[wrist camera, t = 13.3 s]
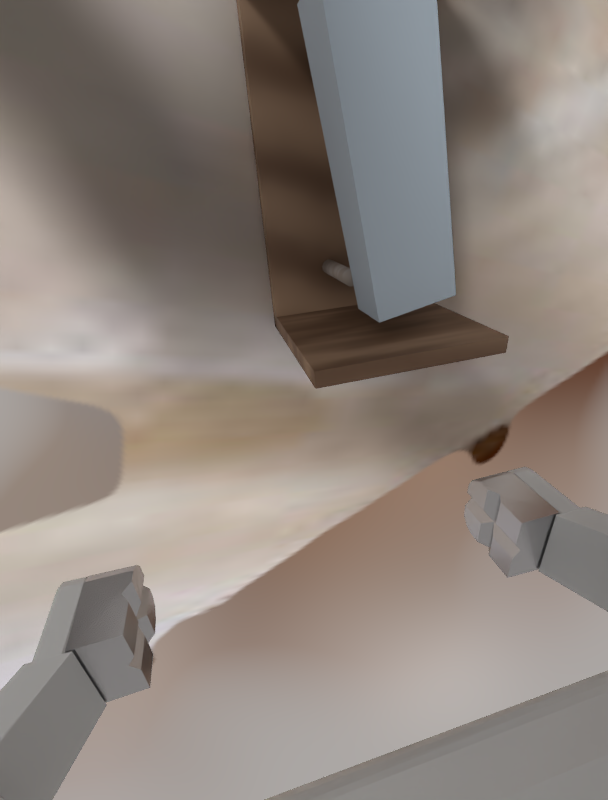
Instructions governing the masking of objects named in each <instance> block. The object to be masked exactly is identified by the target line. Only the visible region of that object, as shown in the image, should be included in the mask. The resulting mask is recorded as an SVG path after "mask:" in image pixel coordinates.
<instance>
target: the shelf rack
mask: <svg viewBox="0 0 608 800" xmlns="http://www.w3.org/2000/svg"><path fill="white" fill-rule="evenodd" d="M236 1H237V9H238V18H239V26H240V35H241V43H242V51H243V60H244V68H245V76H246V85H247V93H248V102H249V110H250V118H251V127H252V135H253V143H254V152H255V160H256V169H257V177H258V185H259V194H260V202H261V210H262V219H263V227H264V236H265V244H266V252H267V261H268V269H269V277H270V286H271V294H272V303H273V311H274V319H275V326H276V328H277V329H278V331H279V333H280V334H281V336H282V337H283V339H284V340H285V342H286V343H287V345H288V347H289V348H290V350H291V351H292V353H293V354H294V356H295V357H296V359H297V360H298V362H299V364H300V365H301V367H302V368H303V370H304V371H305V373H306V374H307V376H308V378H309V379H310V381H311V382H312V384H313V385H314V387H315V388H322V387H327V386H332V385H337V384H343V383H348V382H353V381H358V380H364V379H369V378H374V377H379V376H385V375H390V374H395V373H400V372H406V371H411V370H416V369H422V368H427V367H432V366H437V365H443V364H448V363H453V362H458V361H464V360H469V359H474V358H479V357H485V356H490V355H495V354H500V353H506V349H507V343H508V338H509V336H507V335H505V334H502V333H500V332H498V331H496V330H493V329H491V328H489V327H487V326H484V325H482V324H480V323H478V322H475V321H473V320H471V319H469V318H466V317H464V316H462V315H460V314H457V313H455V312H453V311H450V310H448V309H446V308H444V307H441V306H439V305H437V304H435V303H433V304H430V305H427V306H424V307H421V308H419V309H416V310H413V311H410V312H408V313H405V314H402V315H399V316H397V317H394V318H391V319H388V320H385V321H383V322H380V323H379V322H377V321H376V320H374V319H373V318H371V317H370V316H369V315H367V314H366V313H364V312H363V311H361V310H360V309H358V305H357V300H356V295H355V290H354V285H353V280H352V275H351V270H350V265H349V260H348V255H347V250H346V245H345V240H344V235H343V230H342V225H341V220H340V215H339V210H338V205H337V200H336V195H335V190H334V185H333V180H332V175H331V170H330V165H329V160H328V155H327V150H326V145H325V140H324V135H323V130H322V125H321V120H320V115H319V110H318V105H317V100H316V95H315V90H314V86H313V81H312V76H311V71H310V66H309V61H308V56H307V51H306V46H305V41H304V36H303V31H302V26H301V21H300V16H299V11H298V6H297V4H298V2H299V0H236Z"/></svg>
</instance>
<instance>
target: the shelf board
mask: <svg viewBox="0 0 608 800" xmlns="http://www.w3.org/2000/svg"><path fill="white" fill-rule="evenodd" d="M297 6H298V11H299V16H300V21H301V26H302V31H303V36H304V41H305V46H306V51H307V56H308V61H309V66H310V71H311V76H312V81H313V86H314V90H315V95H316V100H317V105H318V110H319V115H320V120H321V125H322V130H323V135H324V140H325V145H326V150H327V155H328V160H329V165H330V170H331V175H332V180H333V185H334V190H335V195H336V200H337V205H338V210H339V215H340V220H341V225H342V230H343V235H344V240H345V245H346V250H347V255H348V260H349V265H350V270H351V275H352V280H353V285H354V290H355V295H356V300H357V305H358V309H360V310H361V311H363V312H364V313H366V314H367V315H369V316H370V317H371V318H373V319H374V320H376V321H377V322H379V323H380V322H383V321H385V320H388V319H391V318H394V317H397V316H399V315H402V314H405V313H408V312H410V311H413V310H416V309H419V308H421V307H424V306H427V305H430V304H433V303H435V302H438V301H441V300H444V299H446V298H449V297H452V296H455V295H456V286H455V270H454V255H453V239H452V224H451V209H450V193H449V178H448V162H447V147H446V132H445V116H444V101H443V85H442V70H441V55H440V39H439V24H438V8H437V0H299V2H298V4H297Z"/></svg>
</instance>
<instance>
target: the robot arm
mask: <svg viewBox="0 0 608 800" xmlns="http://www.w3.org/2000/svg"><path fill="white" fill-rule="evenodd" d="M468 494H469V495H470V496H471V497H472V498H471V499H470V500H469V502H468V503H467V504H466V505H465V514H464V517H465V520H466V524H467V527H468V529H469V530H470V532H471V534H472V535H473V537H474V538H475V539H476V540H477V542H479V543H481V544H483V545H485V546H488V547H489V556H490V557H491V558H492V560H493V561H494V562H495V563H496V564H497V566H498V567H499V568H500V569H501V570H502V572H503V573H504V574H505V575H506V576H507V577H512V576H516V575H519V574H522V573H526V572H530V571H534V570H537V569H539V572H541V573H543V574H544V575H546V576H548V577H550V578H551V579H553V580H555V581H556V582H558V583H560V584H561V585H563V586H565V587H567V588H568V589H570V590H572V591H573V592H575V593H577V594H579V595H580V596H582V597H584V598H586V599H587V600H589V601H591V602H593V603H594V604H596V605H597V606H599V607H601V608H603V609H604V610H606V611H608V514H605V513H602V512H599V511H596V510H594V509H591V508H588V507H582V508H580V507H578V506H577V505H576V504H574V503H573V502H572V501H571V500H569V499H568V498H567V497H566V496H564V495H563V494H562V493H561V492H559V491H558V490H557V489H556V488H554V487H553V486H552V485H551V484H549V483H548V482H547V481H546V480H544V479H543V478H542V477H540V476H539V475H538V474H537V473H536V472H534V471H533V470H532V469H530V468H527V467H522V468H518V469H514V470H510V471H507V472H502V473H498V474H495V475H491V476H487V477H483V478H479V479H476V480H472V481H471V483H470V484H469V486H468ZM143 581H144V574H143V572H142V570H141V568H140V566H138V565H135V566H131V567H127V568H122V569H118V570H113V571H109V572H104V573H100V574H96V575H91V576H88V577H84V578H80V579H75V580H71V581H67V582H63V583H62V584H61V586H60V587H59V588H58V589H57V592H56V594H55V597H54V600H53V603H52V606H51V609H50V612H49V615H48V618H47V620H46V623H45V626H44V629H43V632H42V635H41V638H40V641H39V644H38V646H37V649H36V652H35V655H34V658H33V661H32V662H31V663H28V664H24V665H23V666H22V667H21V668H20V669H19V670H18V672H17V673H16V674H15V675H14V676H13V677H12V678H11V679H10V680H9V682H8V683H7V684H6V685H5V686H4V687H3V688H2V689H1V691H0V800H52V799H53V798H54V796H55V794H56V793H57V791H58V789H59V787H60V786H61V784H62V782H63V780H64V779H65V777H66V775H67V773H68V772H69V770H70V768H71V766H72V764H73V763H74V761H75V759H76V758H77V756H78V754H79V752H80V751H81V749H82V747H83V745H84V744H85V742H86V740H87V738H88V737H89V735H90V733H91V731H92V730H93V728H94V726H95V724H96V723H97V721H98V719H99V717H100V716H101V714H102V712H103V710H104V709H105V707H106V702H109V701H112V700H115V699H118V698H120V697H124V696H127V695H129V694H132V693H135V692H138V691H141V690H144V689H147V688H150V683H151V671H152V661H153V653H152V651H151V648H150V646H149V644H148V643H149V641H150V640H151V638H152V637H153V635H154V634H155V624H156V616H155V604H154V600H153V596H152V593H151V591H150V589H149V588H147V587H145V586H143ZM265 800H608V671H605V672H603V673H600V674H597V675H595V676H592V677H589V678H587V679H584V680H581V681H579V682H576V683H573V684H571V685H568V686H565V687H563V688H560V689H557V690H555V691H552V692H549V693H547V694H544V695H541V696H539V697H536V698H534V699H531V700H528V701H525V702H523V703H520V704H518V705H515V706H512V707H510V708H507V709H504V710H502V711H499V712H496V713H494V714H491V715H488V716H486V717H483V718H480V719H478V720H475V721H473V722H470V723H467V724H464V725H462V726H459V727H456V728H454V729H451V730H448V731H446V732H443V733H440V734H438V735H435V736H433V737H430V738H427V739H424V740H422V741H419V742H417V743H414V744H412V745H409V746H406V747H403V748H401V749H398V750H395V751H393V752H390V753H387V754H385V755H382V756H379V757H377V758H374V759H371V760H369V761H366V762H363V763H361V764H358V765H355V766H353V767H350V768H347V769H345V770H342V771H339V772H337V773H334V774H331V775H329V776H326V777H324V778H321V779H318V780H316V781H313V782H310V783H308V784H305V785H302V786H300V787H297V788H294V789H292V790H289V791H287V792H284V793H281V794H279V795H276V796H273V797H270V798H268V799H265Z"/></svg>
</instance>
